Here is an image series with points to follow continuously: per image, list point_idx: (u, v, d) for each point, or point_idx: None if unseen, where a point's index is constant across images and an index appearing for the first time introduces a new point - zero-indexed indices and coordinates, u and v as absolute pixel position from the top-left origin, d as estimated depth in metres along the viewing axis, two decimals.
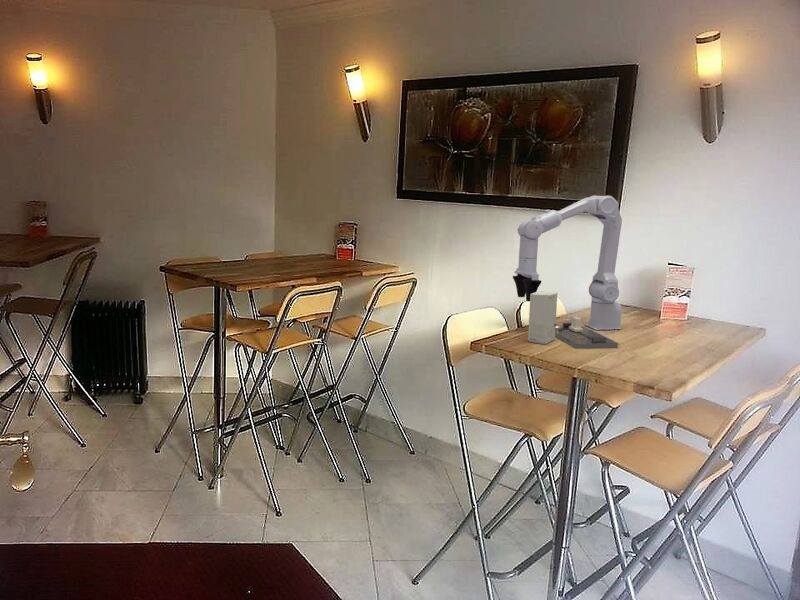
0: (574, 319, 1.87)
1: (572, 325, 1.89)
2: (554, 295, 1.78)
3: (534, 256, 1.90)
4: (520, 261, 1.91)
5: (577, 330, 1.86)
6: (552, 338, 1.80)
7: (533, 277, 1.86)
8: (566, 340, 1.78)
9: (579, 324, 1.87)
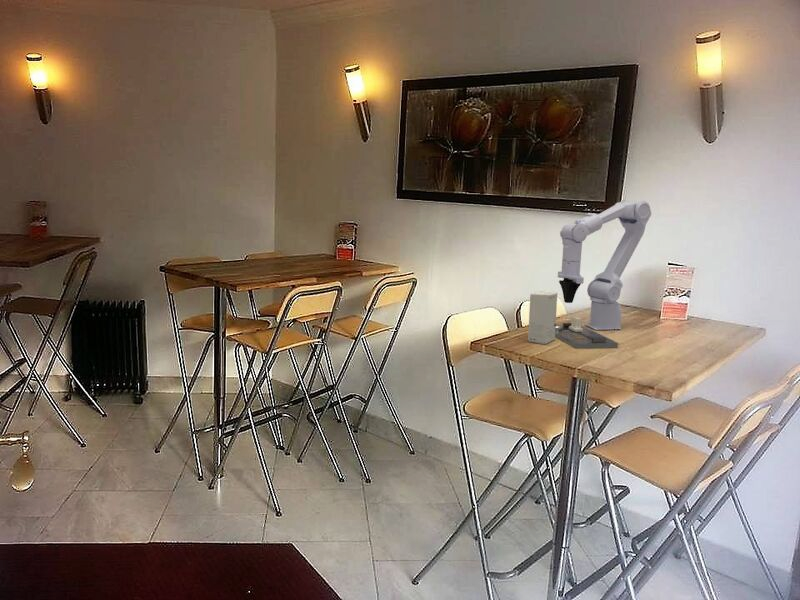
0: (574, 319, 1.87)
1: (572, 325, 1.89)
2: (554, 295, 1.78)
3: (579, 259, 1.89)
4: (564, 264, 1.90)
5: (577, 330, 1.86)
6: (552, 338, 1.80)
7: (578, 280, 1.85)
8: (566, 340, 1.78)
9: (579, 324, 1.87)
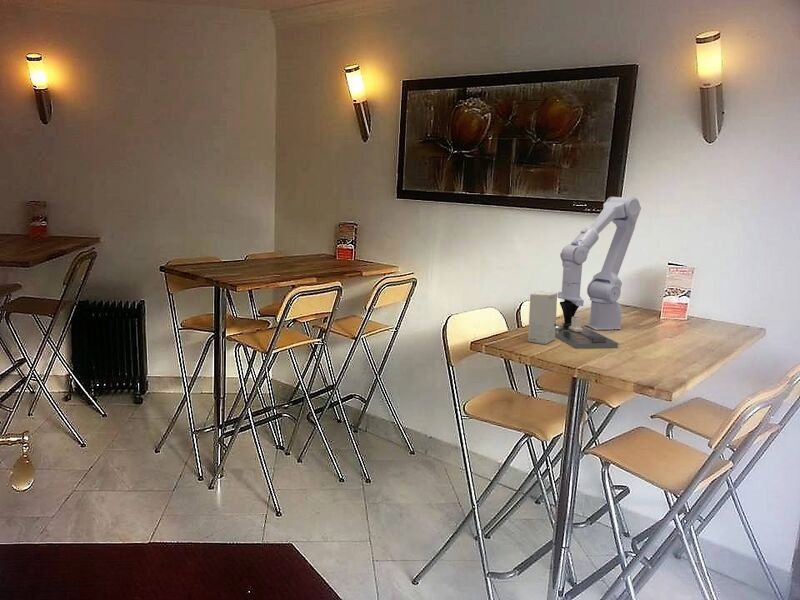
0: (574, 319, 1.87)
1: (572, 325, 1.89)
2: (554, 295, 1.78)
3: (580, 281, 1.89)
4: (564, 286, 1.90)
5: (577, 330, 1.86)
6: (552, 338, 1.80)
7: (578, 303, 1.85)
8: (566, 340, 1.78)
9: (579, 324, 1.87)
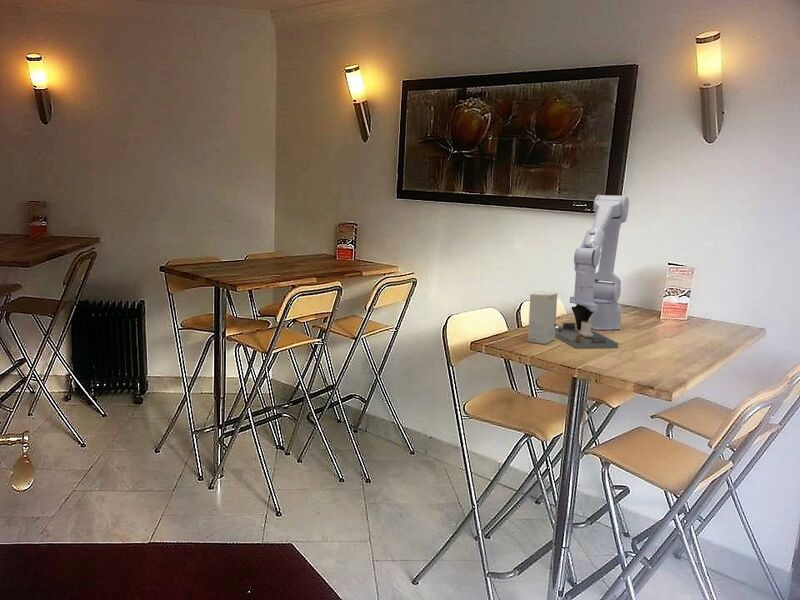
0: (584, 324, 1.81)
1: (582, 330, 1.82)
2: (554, 295, 1.78)
3: (594, 284, 1.82)
4: (576, 290, 1.82)
5: (587, 335, 1.80)
6: (552, 338, 1.80)
7: (592, 308, 1.76)
8: (566, 340, 1.78)
9: (589, 329, 1.80)
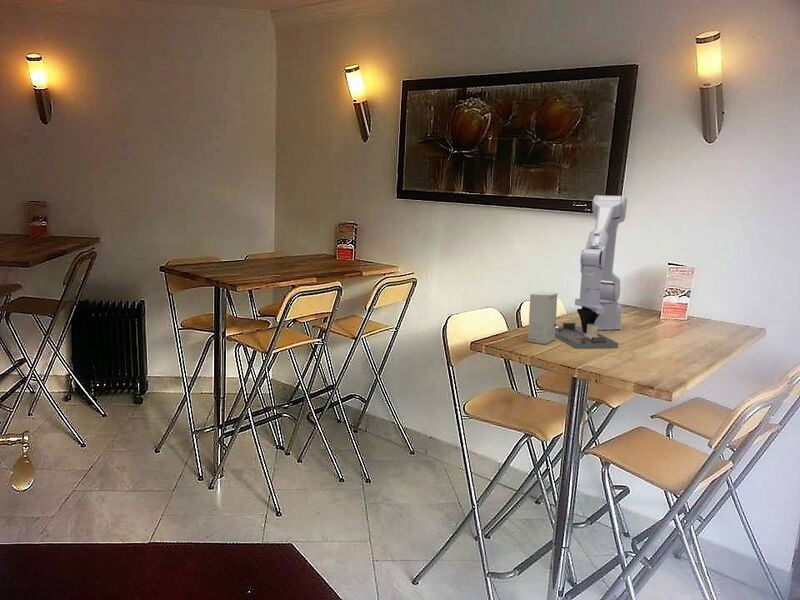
0: (590, 326, 1.77)
1: (588, 333, 1.79)
2: (554, 295, 1.78)
3: None
4: (582, 292, 1.78)
5: None
6: (552, 338, 1.80)
7: (598, 310, 1.73)
8: (566, 340, 1.78)
9: (595, 332, 1.77)
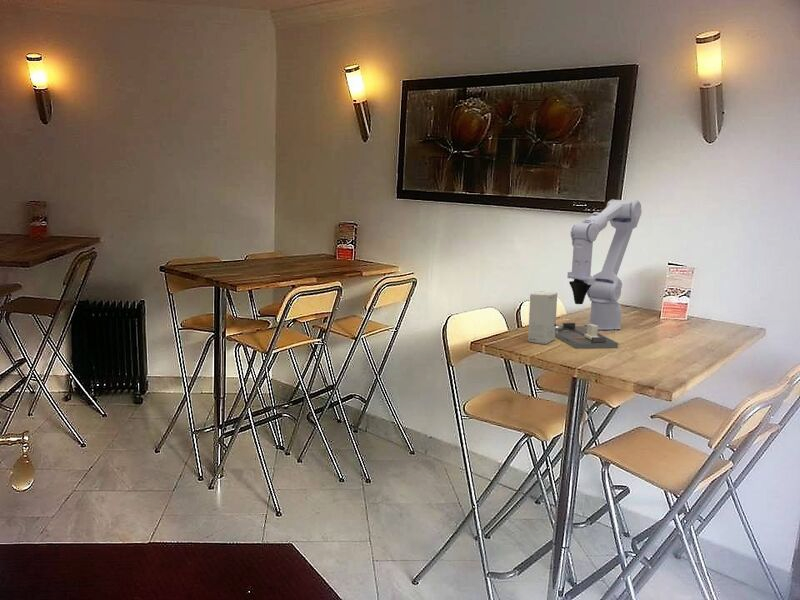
0: (590, 326, 1.77)
1: (588, 333, 1.79)
2: (554, 295, 1.78)
3: (591, 259, 1.85)
4: (574, 265, 1.86)
5: None
6: (552, 338, 1.80)
7: (589, 281, 1.81)
8: (566, 340, 1.78)
9: (595, 332, 1.77)
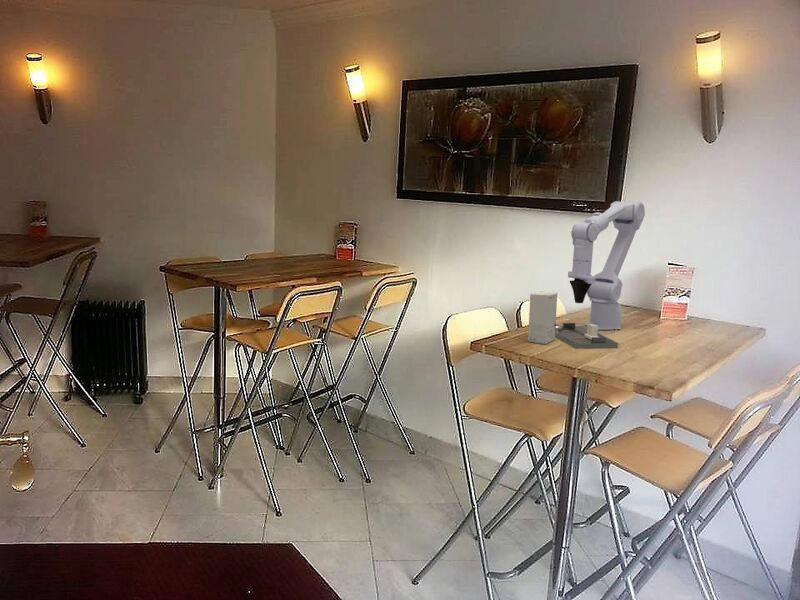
0: (590, 326, 1.77)
1: (588, 333, 1.79)
2: (554, 295, 1.78)
3: (591, 259, 1.87)
4: (575, 264, 1.87)
5: None
6: (552, 338, 1.80)
7: (589, 280, 1.82)
8: (566, 340, 1.78)
9: (595, 332, 1.77)
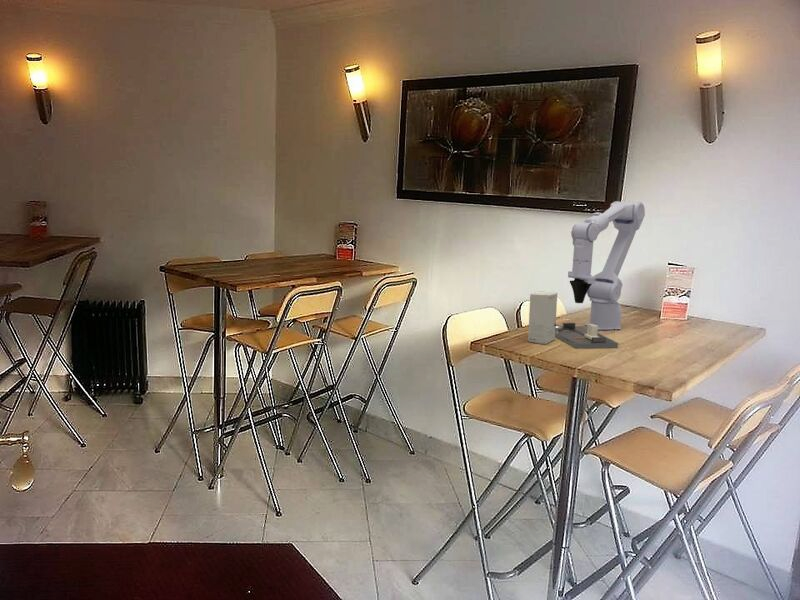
0: (590, 326, 1.77)
1: (588, 333, 1.79)
2: (554, 295, 1.78)
3: (591, 259, 1.87)
4: (575, 264, 1.87)
5: None
6: (552, 338, 1.80)
7: (589, 280, 1.82)
8: (566, 340, 1.78)
9: (595, 332, 1.77)
